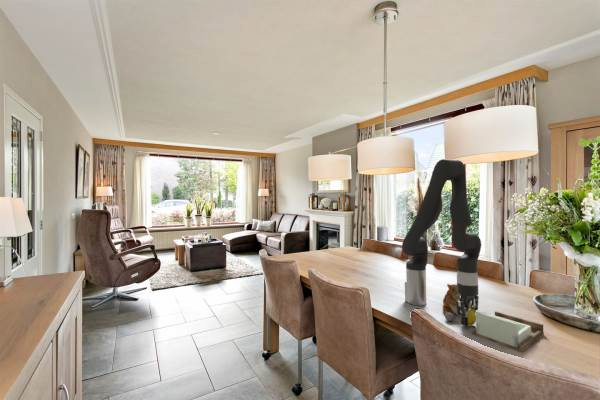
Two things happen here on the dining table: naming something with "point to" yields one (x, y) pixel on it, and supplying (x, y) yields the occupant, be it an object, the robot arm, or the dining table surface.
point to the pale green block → (502, 329)
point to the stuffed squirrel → (451, 300)
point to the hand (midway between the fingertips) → (468, 323)
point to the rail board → (535, 327)
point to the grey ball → (449, 316)
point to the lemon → (471, 317)
